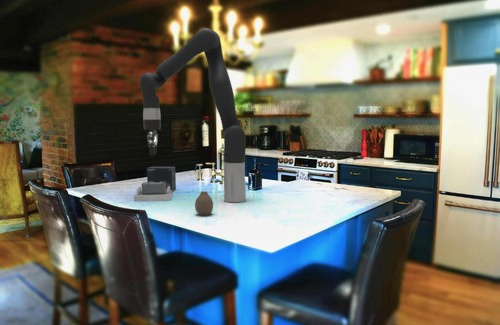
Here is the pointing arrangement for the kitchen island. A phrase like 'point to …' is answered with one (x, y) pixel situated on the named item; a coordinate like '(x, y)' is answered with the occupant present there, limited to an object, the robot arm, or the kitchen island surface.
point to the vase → (204, 204)
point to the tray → (153, 196)
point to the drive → (153, 188)
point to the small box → (162, 176)
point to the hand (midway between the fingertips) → (153, 154)
